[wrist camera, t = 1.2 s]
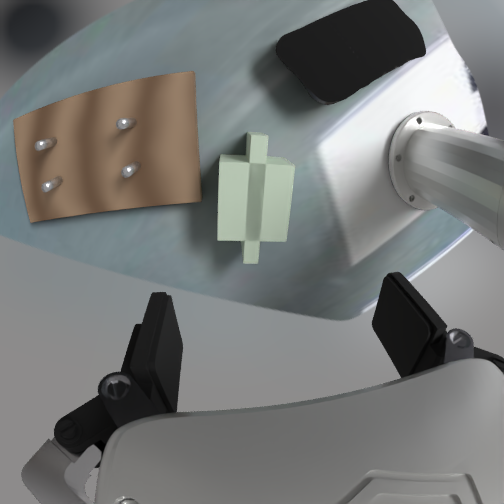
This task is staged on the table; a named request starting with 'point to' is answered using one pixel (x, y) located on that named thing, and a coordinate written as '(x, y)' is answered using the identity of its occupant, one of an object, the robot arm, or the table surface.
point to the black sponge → (350, 48)
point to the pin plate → (111, 149)
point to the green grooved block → (254, 197)
